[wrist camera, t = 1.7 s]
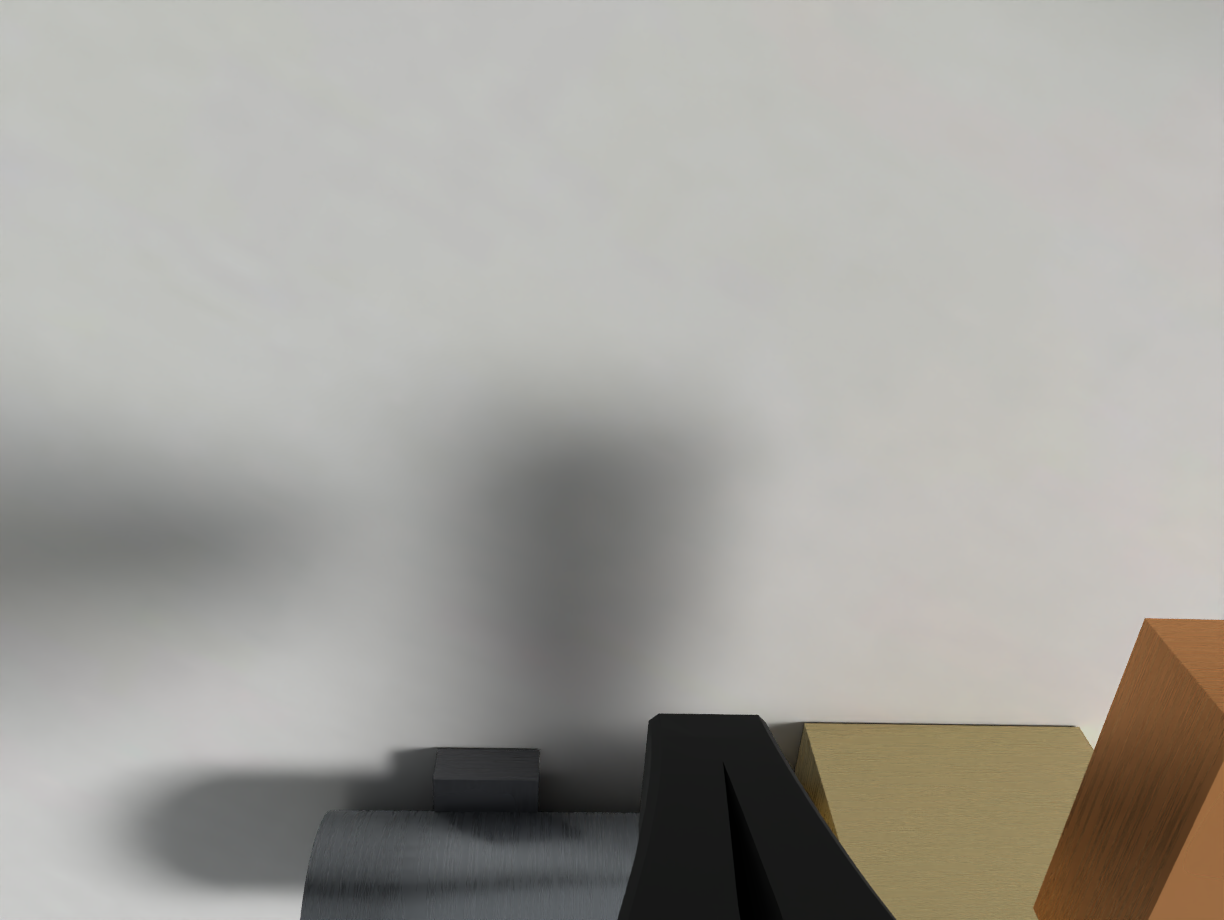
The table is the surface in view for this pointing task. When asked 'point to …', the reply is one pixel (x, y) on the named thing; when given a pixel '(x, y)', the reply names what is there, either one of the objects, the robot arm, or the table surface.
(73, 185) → the table surface
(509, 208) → the table surface
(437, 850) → the valve pipe
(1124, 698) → the valve lever
